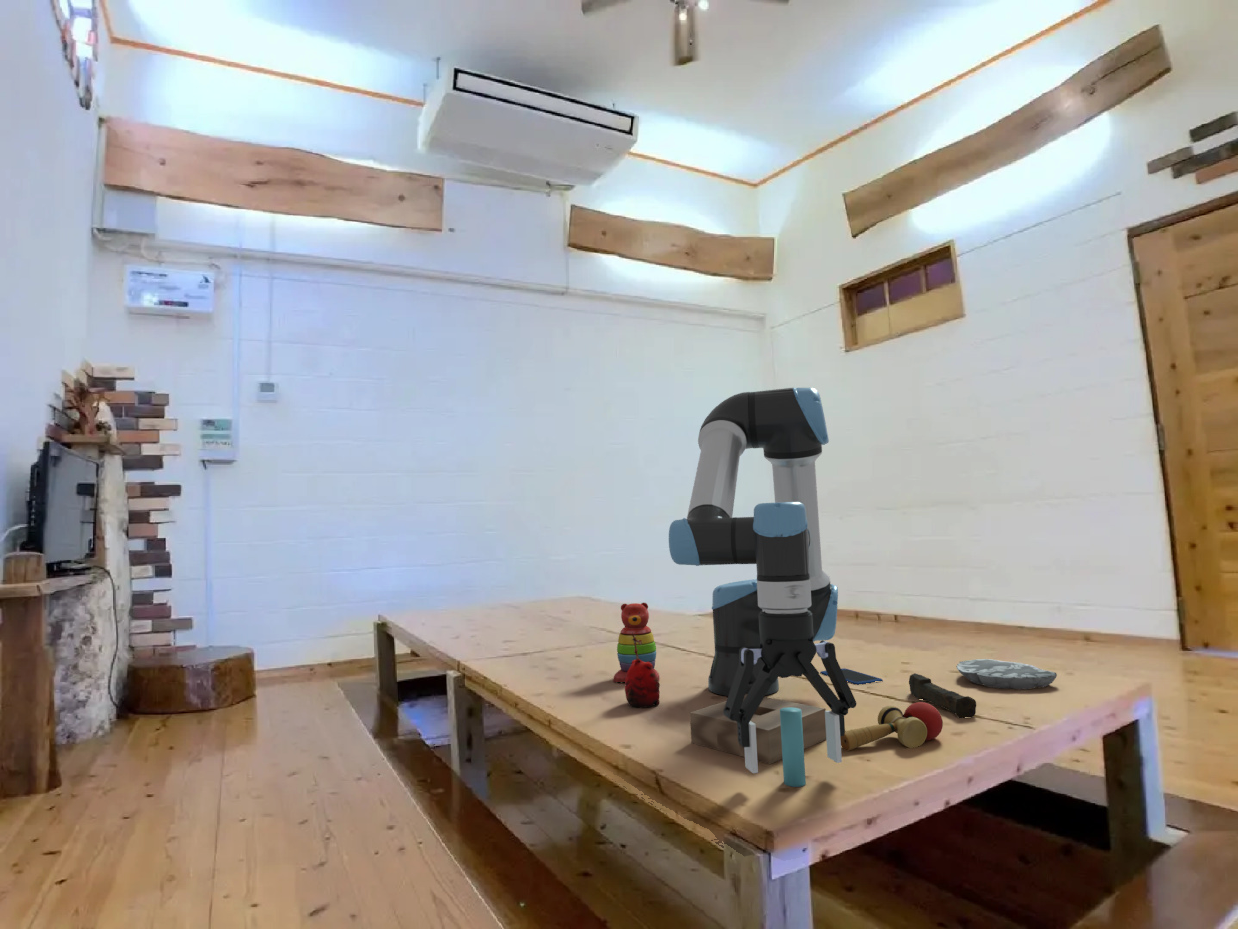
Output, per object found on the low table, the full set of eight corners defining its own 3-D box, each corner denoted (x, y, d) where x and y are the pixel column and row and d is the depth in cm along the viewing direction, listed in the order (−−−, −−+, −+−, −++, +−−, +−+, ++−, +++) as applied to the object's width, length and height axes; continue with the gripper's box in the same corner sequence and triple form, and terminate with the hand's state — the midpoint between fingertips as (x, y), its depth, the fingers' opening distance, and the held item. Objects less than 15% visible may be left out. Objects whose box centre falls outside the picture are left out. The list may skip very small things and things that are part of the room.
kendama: (864, 768, 109) (959, 737, 114) (852, 726, 110) (947, 697, 115) (837, 762, 116) (928, 733, 121) (826, 722, 117) (917, 695, 122)
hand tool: (978, 719, 128) (976, 692, 128) (957, 720, 127) (955, 694, 128) (924, 694, 146) (922, 671, 147) (905, 695, 146) (903, 672, 146)
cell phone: (844, 671, 170) (844, 668, 170) (884, 683, 157) (884, 679, 157) (818, 674, 168) (818, 671, 168) (857, 687, 155) (856, 683, 155)
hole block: (691, 742, 120) (689, 712, 120) (749, 721, 131) (748, 693, 131) (770, 764, 108) (768, 730, 108) (827, 739, 119) (825, 708, 119)
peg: (779, 783, 100) (775, 710, 101) (791, 777, 102) (787, 706, 103) (797, 788, 98) (793, 714, 99) (809, 782, 100) (805, 709, 101)
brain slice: (935, 679, 158) (934, 665, 159) (989, 670, 165) (988, 657, 165) (1015, 698, 141) (1013, 682, 141) (1072, 687, 147) (1071, 672, 147)
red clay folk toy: (667, 703, 146) (664, 629, 147) (645, 711, 140) (642, 634, 141) (639, 698, 151) (636, 626, 152) (617, 706, 145) (614, 631, 147)
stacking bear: (612, 683, 165) (609, 606, 167) (618, 674, 175) (615, 601, 177) (658, 683, 164) (655, 605, 165) (661, 673, 174) (658, 600, 175)
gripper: (714, 618, 96) (722, 784, 94) (875, 607, 101) (885, 763, 99) (696, 612, 103) (703, 765, 101) (847, 601, 108) (856, 747, 107)
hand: (793, 765), depth 100 cm, fingers open, 12 cm apart
